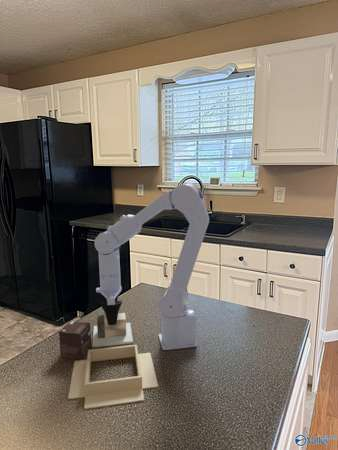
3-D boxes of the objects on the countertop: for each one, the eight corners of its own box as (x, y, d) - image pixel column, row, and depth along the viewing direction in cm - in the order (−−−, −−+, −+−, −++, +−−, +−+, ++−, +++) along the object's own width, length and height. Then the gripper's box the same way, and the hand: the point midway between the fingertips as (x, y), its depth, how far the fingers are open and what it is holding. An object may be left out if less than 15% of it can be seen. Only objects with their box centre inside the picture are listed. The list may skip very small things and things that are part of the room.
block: (125, 328, 95) (125, 312, 94) (126, 335, 91) (125, 319, 90) (98, 331, 93) (97, 315, 92) (97, 338, 89) (97, 321, 89)
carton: (148, 346, 86) (148, 336, 86) (160, 398, 67) (160, 385, 66) (75, 354, 83) (75, 343, 82) (66, 411, 63) (65, 398, 63)
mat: (130, 324, 99) (130, 322, 99) (132, 343, 88) (132, 341, 88) (94, 327, 97) (93, 325, 96) (92, 347, 86) (92, 345, 86)
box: (81, 360, 80) (79, 334, 79) (60, 358, 81) (57, 331, 80) (92, 347, 86) (90, 322, 85) (71, 345, 87) (70, 320, 86)
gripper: (96, 266, 95) (98, 308, 98) (94, 283, 81) (97, 332, 84) (119, 264, 96) (121, 306, 99) (122, 281, 82) (124, 329, 85)
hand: (112, 318), depth 91 cm, fingers open, 7 cm apart
